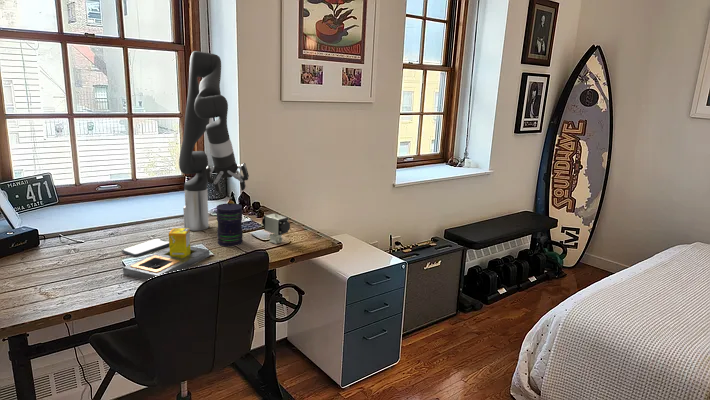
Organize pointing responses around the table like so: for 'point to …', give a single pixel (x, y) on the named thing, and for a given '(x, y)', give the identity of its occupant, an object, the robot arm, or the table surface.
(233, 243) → the storage jar
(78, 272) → the table surface
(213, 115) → the robot arm
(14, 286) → the table surface
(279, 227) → the pneumatic valve
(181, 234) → the supplement box
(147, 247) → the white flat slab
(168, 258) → the hole rail
